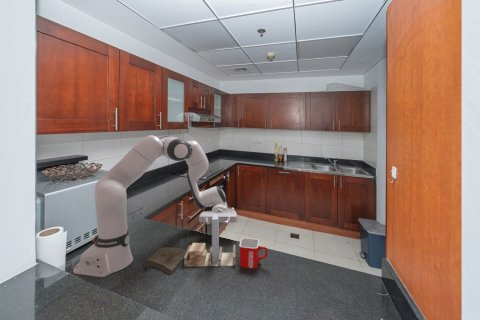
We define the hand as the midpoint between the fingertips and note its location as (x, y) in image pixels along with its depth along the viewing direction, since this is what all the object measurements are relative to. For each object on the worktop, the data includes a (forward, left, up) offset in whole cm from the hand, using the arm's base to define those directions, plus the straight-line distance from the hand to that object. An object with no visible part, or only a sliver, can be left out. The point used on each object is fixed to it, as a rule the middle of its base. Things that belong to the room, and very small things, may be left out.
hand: (217, 223), depth 104 cm
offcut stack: (-8, -12, -12) cm, 18 cm away
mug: (+17, -14, -14) cm, 26 cm away
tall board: (0, -12, -12) cm, 16 cm away
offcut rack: (-2, -12, -13) cm, 18 cm away
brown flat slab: (-22, -12, -14) cm, 29 cm away
